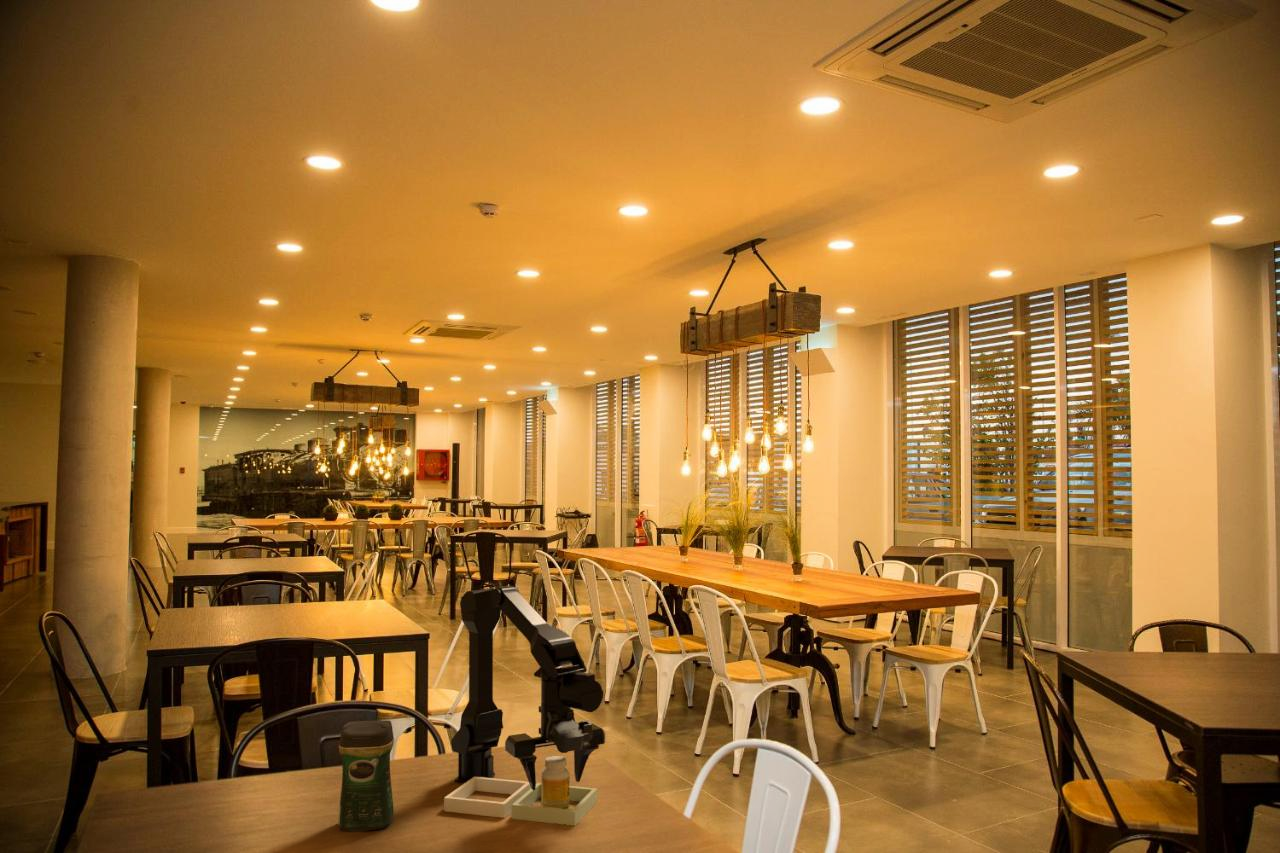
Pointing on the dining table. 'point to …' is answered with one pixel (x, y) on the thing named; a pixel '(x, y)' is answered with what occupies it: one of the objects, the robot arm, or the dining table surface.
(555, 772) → the supplement bottle
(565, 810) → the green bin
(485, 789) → the white bin
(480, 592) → the robot arm
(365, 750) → the coffee jar
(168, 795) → the dining table surface
